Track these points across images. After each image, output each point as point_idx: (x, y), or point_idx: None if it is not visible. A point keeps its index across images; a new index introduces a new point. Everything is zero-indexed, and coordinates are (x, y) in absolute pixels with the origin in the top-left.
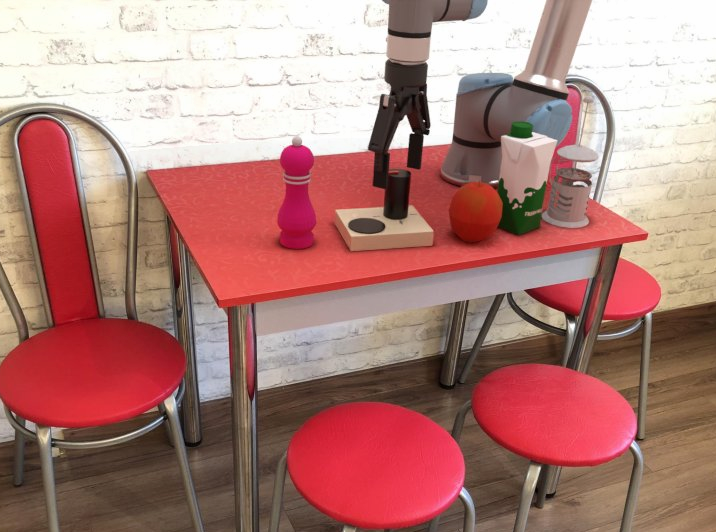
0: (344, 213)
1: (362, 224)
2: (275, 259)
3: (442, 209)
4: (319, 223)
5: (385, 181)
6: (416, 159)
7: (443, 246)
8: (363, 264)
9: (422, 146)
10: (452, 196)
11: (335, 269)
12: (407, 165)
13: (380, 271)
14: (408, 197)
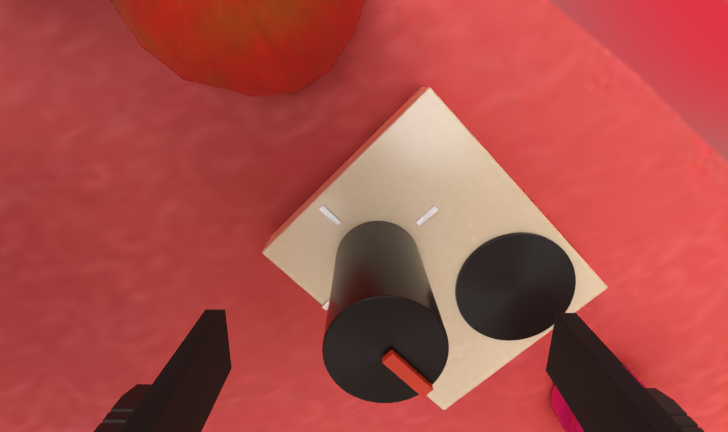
0: (455, 380)
1: (517, 301)
2: (705, 381)
3: (129, 190)
4: (453, 407)
5: (593, 337)
6: (209, 356)
7: (403, 52)
8: (646, 199)
9: (153, 392)
10: (279, 81)
11: (706, 244)
12: (228, 370)
13: (672, 137)
14: (377, 248)
